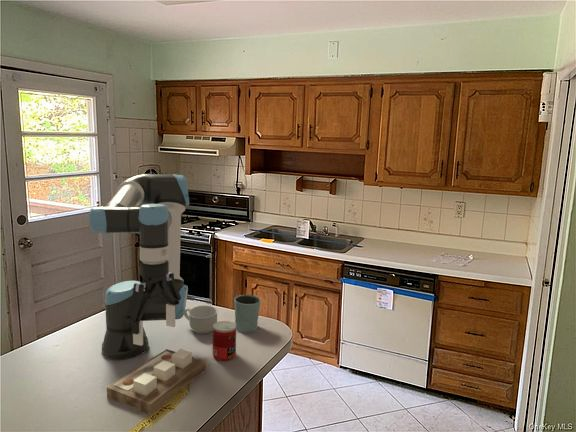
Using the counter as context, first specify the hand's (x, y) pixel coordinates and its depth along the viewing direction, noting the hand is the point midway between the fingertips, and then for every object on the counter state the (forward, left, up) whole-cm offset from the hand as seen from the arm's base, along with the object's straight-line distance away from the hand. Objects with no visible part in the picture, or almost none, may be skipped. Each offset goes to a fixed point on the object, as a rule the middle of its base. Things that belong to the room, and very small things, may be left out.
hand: (155, 334), depth 120 cm
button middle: (-1, +5, -17) cm, 18 cm away
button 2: (-1, +13, -17) cm, 21 cm away
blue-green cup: (+1, +50, -19) cm, 54 cm away
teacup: (-14, +40, -19) cm, 47 cm away
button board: (-3, +5, -19) cm, 20 cm away
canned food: (+5, +28, -19) cm, 34 cm away
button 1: (-1, -3, -17) cm, 17 cm away
